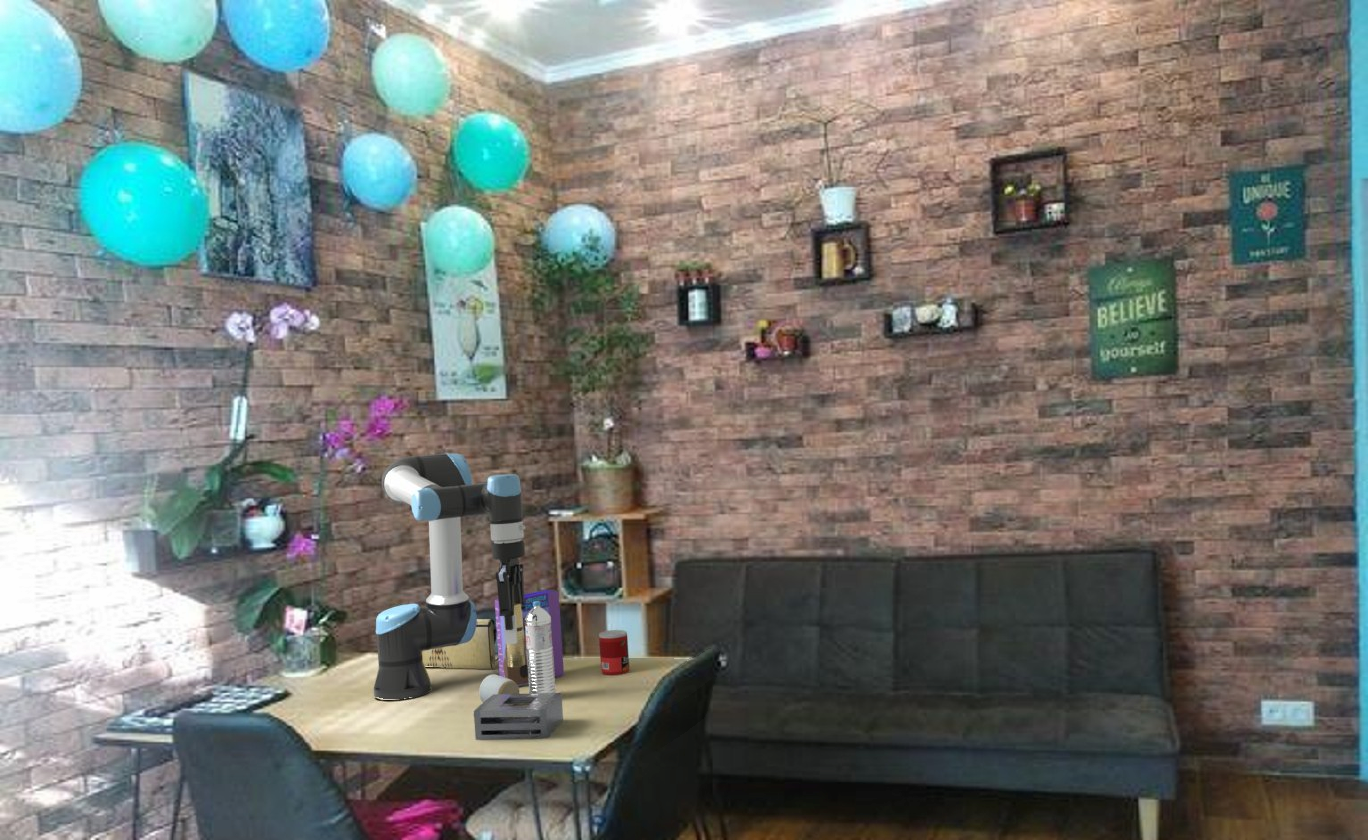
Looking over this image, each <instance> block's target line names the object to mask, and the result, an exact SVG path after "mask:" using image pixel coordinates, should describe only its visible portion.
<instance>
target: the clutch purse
mask: <svg viewBox="0 0 1368 840" xmlns="http://www.w3.org/2000/svg"><path fill="white" fill-rule="evenodd" d="M496 642H497V628H496V622H495V620H494V619H493V618H488V619H487V618H484V619H482V618H477V624H476V630H475V633H474V636H473V637H472V639H471V640H470V641H469V642H467V643H463V644H459V645H457V646H448V647H442V648H437V649H431V650H425V651H422V656H423V664H424V666H433V667H446V668H445V669H460V668H461V669H463V670H464V669H467V670H470V669H471V670H473V669H474V670H475V669H476V670H492V671H493V670H495V668H496V663H497V661H499V658H498V657H497V658H496V648H495V647H496V645H495V644H496Z"/></svg>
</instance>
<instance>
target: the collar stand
mask: <svg viewBox="0 0 1368 840" xmlns="http://www.w3.org/2000/svg"><path fill="white" fill-rule="evenodd" d="M509 704H514V705H513V706H508V705H509ZM516 704H521V705H516ZM522 704H529V705H522ZM473 721H474V736H475V737H474V738H475V740H516V739H517V740H518V739H549V738H550V736H551V735H552V734H553V733H552V732H554V731H555V730H556V729H557V728H558V727H559V726H560V724H561V723H562V722H563V721H564V712H563V699H562V692H556V693H530V694H529V693H519V694H493V695H492V696H491V697H489V698H488V699H487V700H486V701H485V702H484V703H483V702H482V703H481V704H480V705H479V706H478V707H476V708H475V709H474V711H473Z"/></svg>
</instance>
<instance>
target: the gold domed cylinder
mask: <svg viewBox="0 0 1368 840" xmlns="http://www.w3.org/2000/svg"><path fill="white" fill-rule="evenodd" d="M514 615H516V625H517V639H518V643H517V644H506V648H507V662H508V667H520V666H523V665H525V655H524V641H523V626H522V612H521V604H520V603H514Z"/></svg>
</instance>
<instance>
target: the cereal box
mask: <svg viewBox="0 0 1368 840" xmlns="http://www.w3.org/2000/svg"><path fill="white" fill-rule="evenodd" d="M559 596H560V593H559V590H557V589H547V590H541V591H534V592H531V593H524V597H525V605H524V606H526V609H525V610H521V611H522V617H523V631H524V639H523V641H524V655H525V665H523V666H520V667H508V662H507V648H506V644H505V630H504V616H499V600H498V598H497V599H494V610H495V627H496V628H497V633H496V642H497V658H499V659H498V669H499V670H498V671H499V672H498V673H499V676H501V677H504V678H507V679H510V680H512V681H514V682H515V683H516V684H517V685H518V687H519V688H520V687H524V686H525V687H526V686H529V683H528V681H529V680H528V666H527V652H526V649H527V646H526V631H525V624H524V619H525V617H526V615H527V614H528V612H529V611H530V610H531V609H533V608H534V606H533V602H535V601H540V607H541V608H543V609H544V610H545V611H547V612H548V614H549V615H550V617H551V635H552V646H553V658H554V660H553V661H554V672H555V674H554V675H555V679H556V678H560V677H563V675H564V676H565V671H564V655H563V642H562V641H563V639H562V625H561V622H562V621H561V609H560V607H561V606H560V597H559Z"/></svg>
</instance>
